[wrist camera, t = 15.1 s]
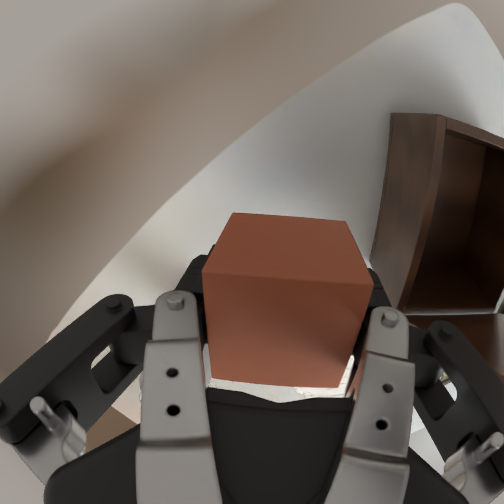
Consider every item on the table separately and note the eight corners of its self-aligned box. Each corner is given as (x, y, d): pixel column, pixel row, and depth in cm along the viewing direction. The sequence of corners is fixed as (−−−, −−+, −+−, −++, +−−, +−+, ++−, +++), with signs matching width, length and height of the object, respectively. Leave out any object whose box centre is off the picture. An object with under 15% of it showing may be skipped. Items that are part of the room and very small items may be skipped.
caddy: (390, 112, 22) (437, 114, 14) (487, 140, 21) (543, 158, 12) (369, 261, 29) (393, 316, 21) (459, 268, 28) (496, 314, 20)
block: (232, 211, 12) (200, 270, 7) (346, 220, 11) (375, 283, 7) (232, 303, 14) (211, 378, 10) (328, 311, 13) (338, 388, 9)
